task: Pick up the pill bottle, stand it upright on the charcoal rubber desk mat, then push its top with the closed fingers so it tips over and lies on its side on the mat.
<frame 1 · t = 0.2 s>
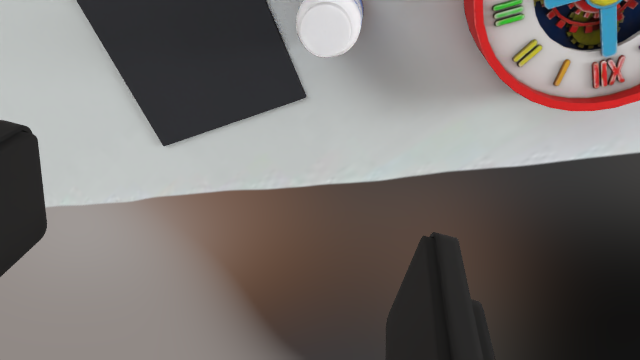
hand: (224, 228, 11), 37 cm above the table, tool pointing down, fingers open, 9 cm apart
pill bottle: (336, 9, 44), on the table
desk mat: (182, 25, 46), on the table
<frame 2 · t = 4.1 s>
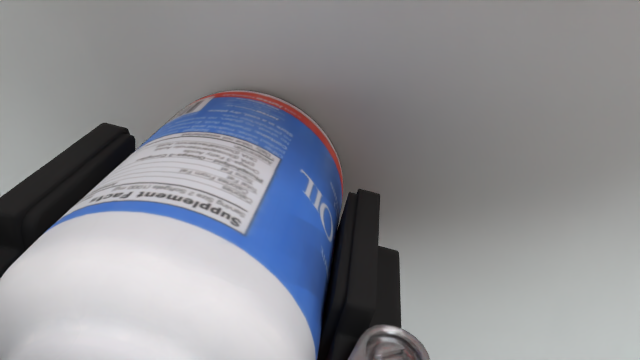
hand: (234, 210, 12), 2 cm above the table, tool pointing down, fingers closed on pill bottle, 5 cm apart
pill bottle: (255, 169, 14), on the table, touching gripper
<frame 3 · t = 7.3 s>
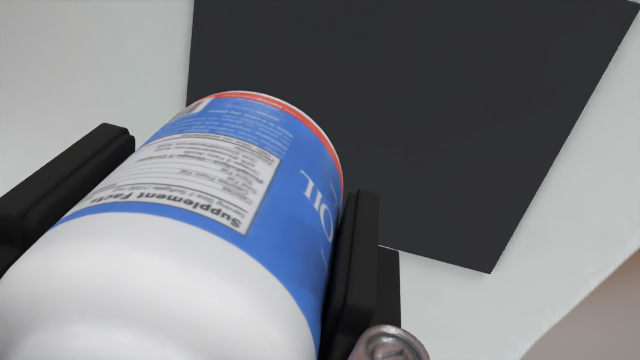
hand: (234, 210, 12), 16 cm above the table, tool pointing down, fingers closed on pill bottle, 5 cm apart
pill bottle: (255, 169, 14), point 14 cm above the table, touching gripper
desk mat: (371, 111, 27), on the table
when the fingers open (2 cm above the table, at t = 10.9 s): pill bottle stays where it is, resting on desk mat.
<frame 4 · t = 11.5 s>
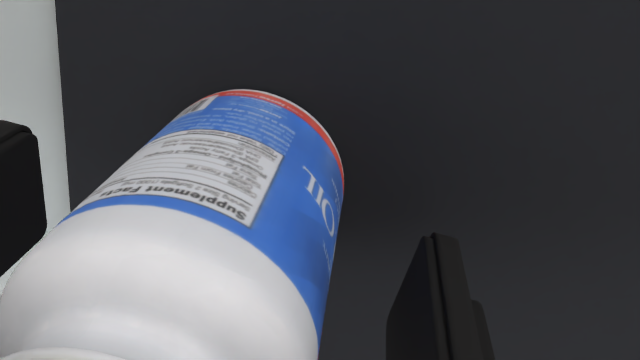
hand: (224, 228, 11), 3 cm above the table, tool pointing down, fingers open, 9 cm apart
pill bottle: (258, 166, 14), resting on desk mat
desk mat: (408, 230, 15), on the table
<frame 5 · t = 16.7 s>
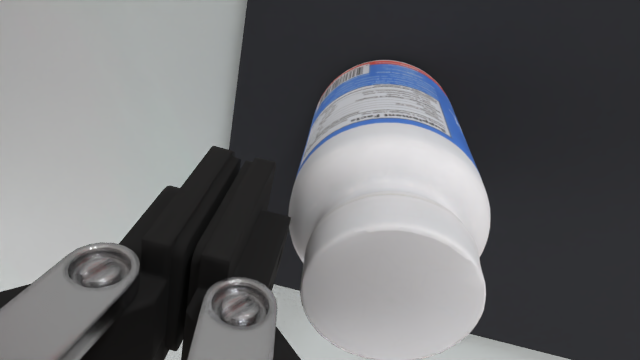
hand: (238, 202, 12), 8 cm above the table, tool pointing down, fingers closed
pill bottle: (382, 120, 18), resting on desk mat, touching gripper
desk mat: (493, 169, 19), on the table
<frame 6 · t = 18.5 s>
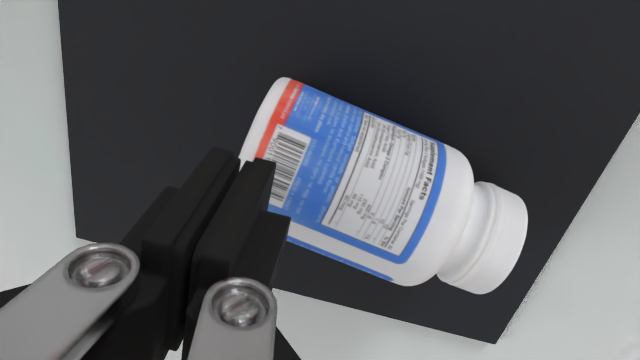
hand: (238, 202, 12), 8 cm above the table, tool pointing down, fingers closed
pill bottle: (244, 140, 16), point 3 cm above the table, touching desk mat
desk mat: (324, 131, 19), on the table
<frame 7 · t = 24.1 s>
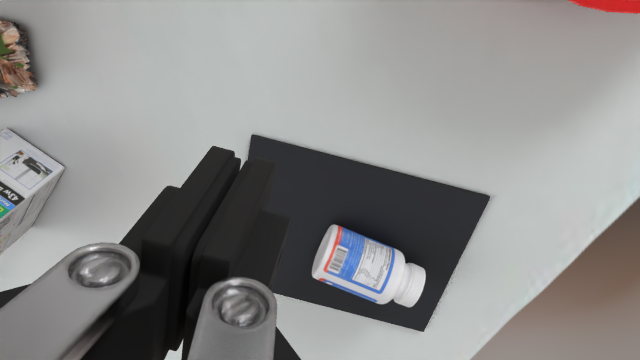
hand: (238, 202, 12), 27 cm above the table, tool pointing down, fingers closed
light bulb box: (21, 179, 48), on the table
pill bottle: (319, 248, 43), point 3 cm above the table, touching desk mat
desk mat: (346, 241, 46), on the table
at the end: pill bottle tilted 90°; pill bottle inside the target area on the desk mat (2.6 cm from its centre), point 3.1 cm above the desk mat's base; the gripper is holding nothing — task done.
